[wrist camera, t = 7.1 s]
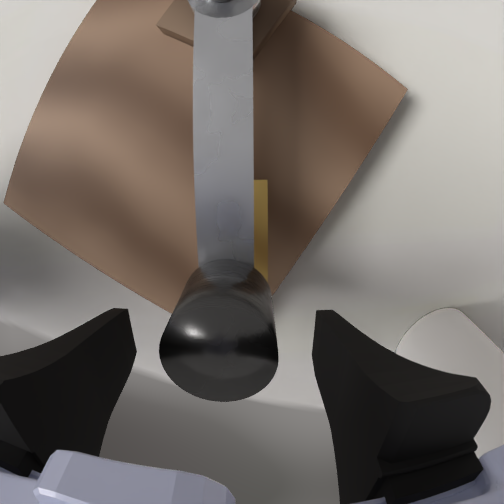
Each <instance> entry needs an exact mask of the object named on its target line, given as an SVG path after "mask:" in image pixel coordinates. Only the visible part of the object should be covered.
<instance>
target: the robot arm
mask: <svg viewBox="0 0 504 504" xmlns="http://www.w3.org/2000/svg"><path fill="white" fill-rule="evenodd" d="M136 353H137V351H136V346H135V342H134V337H133V332H132V328H131V323H130V318H129V312H128V309H120V308H113V309H111V310H108V311H106V312H104V313H102V314H101V315H99V316H97V317H95V318H93V319H92V320H90V321H88V322H86V323H84V324H83V325H81V326H79V327H77V328H75V329H74V330H72V331H70V332H68V333H66V334H64V335H62V336H60V337H58V338H56V339H54V340H51V341H49V342H47V343H44V344H42V345H39V346H37V347H34V348H30V349H27V350H24V351H21V352H17V353H14V354H10V355H5V356H0V504H236V502H235V498H234V496H233V495H232V494H231V493H230V491H229V490H228V489H227V487H225V486H224V485H222V484H221V483H218V482H216V481H214V480H212V479H210V478H208V477H206V476H203V475H198V474H193V473H189V472H184V471H179V470H171V469H163V468H156V467H149V466H143V465H137V464H131V463H125V462H120V461H115V460H110V459H106V458H101V457H99V454H100V450H101V446H102V442H103V438H104V434H105V431H106V428H107V424H108V421H109V419H110V416H111V413H112V411H113V409H114V407H115V405H116V403H117V400H118V398H119V396H120V394H121V392H122V390H123V388H124V386H125V383H126V381H127V379H128V377H129V374H130V372H131V370H132V367H133V363H134V360H135V356H136ZM312 359H313V365H314V371H315V377H316V380H317V384H318V387H319V390H320V394H321V397H322V400H323V403H324V407H325V410H326V413H327V416H328V420H329V423H330V428H331V432H332V439H333V445H334V451H335V459H336V466H337V475H338V485H339V495H340V504H504V445H502V446H499V447H497V448H495V449H493V450H490V451H488V452H487V453H485V454H483V455H482V456H481V457H480V458H479V459H478V458H477V456H476V454H475V452H474V451H476V450H477V448H478V445H477V443H476V442H475V440H474V437H475V436H476V434H477V432H478V431H479V429H480V427H481V426H482V424H483V422H484V421H485V419H486V417H487V415H488V413H489V410H490V406H491V397H490V394H489V393H488V392H487V390H486V389H485V388H484V387H483V385H482V384H481V383H480V381H479V380H478V379H477V378H476V377H470V376H464V375H458V374H452V373H448V372H444V371H440V370H436V369H433V368H430V367H427V366H424V365H421V364H419V363H416V362H413V361H411V360H408V359H406V358H404V357H402V356H400V355H398V354H396V353H394V352H392V351H390V350H388V349H386V348H385V347H383V346H381V345H380V344H378V343H377V342H375V341H373V340H372V339H370V338H369V337H368V336H366V335H365V334H363V333H362V332H361V331H359V330H358V329H357V328H355V327H354V326H353V325H351V324H350V323H349V322H348V321H346V320H345V319H344V318H343V317H341V316H340V315H339V314H337V313H336V312H335V311H333V310H316V320H315V330H314V340H313V349H312Z"/></svg>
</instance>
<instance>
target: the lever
mask: <svg viewBox="0 0 504 504" xmlns="http://www.w3.org/2000/svg"><path fill="white" fill-rule="evenodd" d="M188 2H189V4H190V6H191V8H192V10H193V12H194V14H195V16H194V46H193V155H194V188H195V212H196V232H197V250H198V265H199V268H198V269H196V270H195V271H194V272H193V273H192V275H191V276H190V277H189V279H188V281H187V283H186V285H185V287H184V289H183V291H182V293H181V296H180V298H179V300H178V302H177V304H176V306H175V309H174V311H173V313H172V315H171V317H170V319H169V322H168V324H167V326H166V328H165V330H164V333H163V335H162V337H161V341H160V345H159V354H160V360H161V363H162V366H163V368H164V370H165V371H166V373H167V375H168V376H169V377H170V378H171V380H172V381H173V382H174V383H175V384H176V385H178V386H179V387H180V388H182V389H183V390H185V391H186V392H188V393H190V394H192V395H194V396H197V397H199V398H202V399H206V400H211V401H220V402H225V401H226V402H229V401H236V400H241V399H245V398H248V397H250V396H252V395H254V394H256V393H258V392H259V391H261V390H262V389H263V388H265V387H266V386H267V385H268V384H269V382H270V381H271V380H272V378H273V377H274V375H275V373H276V370H277V367H278V347H277V338H276V329H275V320H274V311H273V302H272V294H271V290H270V287H269V284H268V282H267V281H266V279H265V278H264V276H263V275H262V274H261V273H260V272H259V271H258V270H257V269H255V268H254V150H253V17H254V16H255V15H256V14H257V12H258V11H259V9H260V5H261V0H188Z"/></svg>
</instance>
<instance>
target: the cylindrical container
mask: <svg viewBox="0 0 504 504" xmlns="http://www.w3.org/2000/svg"><path fill="white" fill-rule="evenodd" d="M395 353H396V354H398V355H400V356H402V357H404V358H406V359H408V360H411V361H413V362H416V363H419V364H421V365H424V366H427V367H430V368H433V369H436V370H440V371H444V372H448V373H452V374H458V375H464V376H470V377H476V378H477V379H478V380H479V381H480V383H481V384H482V385H483V387H484V388H485V389H486V390H487V392H488V393H489V394H490V397H491V406H490V410H489V413H488V415H487V417H486V419H485V421H484V422H483V424H482V426H481V427H480V429H479V431H478V432H477V434H476V436H475V437H474V440H475V442H476V443H477V445H478V448H477V450H476V451H474V452H475V454H476V456H477V458H478V459H479V458H480V457H481V456H482V455H483V454H485V453H487V452H488V451H490V450H493V449H495V448H497V447H499V446H502V445H504V353H503V352H502V351H501V350H500V349H499V348H498V347H497V346H496V345H495V343H494V342H493V341H492V340H491V339H490V338H489V337H488V336H487V335H485V334H484V333H483V332H482V331H481V330H480V329H479V328H478V327H477V326H476V325H475V324H474V323H473V322H472V321H471V320H470V319H469V318H468V317H467V316H466V315H465V314H464V313H463V312H461V311H460V310H457V309H454V308H443V309H439V310H435V311H433V312H431V313H429V314H427V315H425V316H424V317H422V318H421V319H419V320H418V321H417V322H416V323H415V324H414V325H413V326H411V327H410V329H409V330H408V331H407V332H406V333H405V335H404V336H403V338H402V339H401V341H400V342H399V345H398V347H397V349H396V352H395Z"/></svg>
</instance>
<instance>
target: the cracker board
mask: <svg viewBox="0 0 504 504" xmlns="http://www.w3.org/2000/svg"><path fill="white" fill-rule="evenodd" d="M296 1H297V0H261V5H260V9H259V11H258V12H257V14H256V15H255V16H254V17H253V150H254V268H255V269H257V270H258V271H259V272H260V273H261V274H262V275H263V276H264V278H265V279H266V281H267V282H268V284H269V287H270V290H271V294H272V295H273V294H274V292H275V291H276V290H277V288H278V287H279V285H280V284H281V283H282V281H283V280H284V278H285V277H286V275H287V274H288V273H289V271H290V270H291V268H292V267H293V265H294V264H295V263H296V261H297V260H298V258H299V257H300V255H301V254H302V252H303V251H304V250H305V248H306V247H307V245H308V244H309V242H310V241H311V239H312V238H313V236H314V235H315V233H316V232H317V231H318V229H319V228H320V226H321V225H322V223H323V222H324V220H325V219H326V217H327V216H328V214H329V213H330V211H331V210H332V208H333V207H334V205H335V204H336V202H337V201H338V199H339V198H340V196H341V195H342V193H343V192H344V190H345V189H346V187H347V186H348V184H349V182H350V181H351V179H352V178H353V176H354V175H355V173H356V172H357V170H358V169H359V167H360V165H361V164H362V162H363V161H364V159H365V158H366V156H367V155H368V153H369V151H370V150H371V148H372V147H373V145H374V143H375V142H376V140H377V139H378V137H379V136H380V134H381V132H382V131H383V129H384V128H385V126H386V124H387V123H388V121H389V119H390V118H391V116H392V115H393V113H394V111H395V110H396V108H397V106H398V105H399V103H400V101H401V100H402V98H403V96H404V95H405V93H406V91H407V90H408V89H407V88H405V87H404V86H403V85H402V84H401V83H399V82H398V81H397V80H396V79H394V78H393V77H392V76H391V75H389V74H388V73H387V72H385V71H384V70H383V69H382V68H380V67H379V66H378V65H376V64H375V63H374V62H372V61H371V60H369V59H368V58H367V57H365V56H364V55H362V54H361V53H360V52H358V51H357V50H355V49H354V48H352V47H351V46H349V45H348V44H346V43H345V42H343V41H342V40H340V39H339V38H337V37H336V36H334V35H333V34H331V33H329V32H328V31H326V30H324V29H323V28H321V27H320V26H318V25H316V24H314V23H313V22H311V21H309V20H308V19H306V18H304V17H302V16H300V15H299V14H297V13H295V12H293V11H291V9H292V8H293V7H294V6H295V4H296ZM194 16H195V14H194V12H193V10H192V8H191V6H190V4H189V2H188V0H97V1H96V2H95V3H94V5H93V6H92V8H91V9H90V11H89V12H88V14H87V15H86V17H85V18H84V20H83V21H82V23H81V24H80V26H79V27H78V29H77V31H76V32H75V34H74V35H73V37H72V39H71V40H70V42H69V44H68V46H67V47H66V49H65V51H64V53H63V54H62V56H61V58H60V60H59V62H58V63H57V65H56V67H55V69H54V71H53V73H52V75H51V77H50V79H49V81H48V83H47V85H46V87H45V89H44V91H43V93H42V96H41V98H40V100H39V102H38V105H37V107H36V109H35V111H34V114H33V116H32V119H31V121H30V123H29V126H28V129H27V131H26V134H25V136H24V139H23V142H22V144H21V147H20V150H19V153H18V156H17V159H16V162H15V165H14V168H13V171H12V175H11V178H10V181H9V185H8V188H7V192H6V196H5V199H4V204H5V205H7V206H8V207H9V208H10V209H12V210H13V211H14V212H16V213H17V214H18V215H20V216H21V217H22V218H24V219H25V220H26V221H28V222H29V223H31V224H32V225H33V226H35V227H36V228H37V229H39V230H40V231H42V232H43V233H44V234H46V235H47V236H49V237H50V238H52V239H53V240H54V241H56V242H57V243H59V244H60V245H62V246H63V247H65V248H66V249H68V250H69V251H71V252H72V253H74V254H75V255H77V256H78V257H80V258H81V259H83V260H84V261H86V262H87V263H89V264H90V265H92V266H93V267H95V268H96V269H98V270H100V271H101V272H103V273H104V274H106V275H107V276H109V277H111V278H112V279H114V280H116V281H117V282H119V283H120V284H122V285H124V286H125V287H127V288H129V289H130V290H132V291H134V292H135V293H137V294H139V295H140V296H142V297H144V298H145V299H147V300H149V301H151V302H152V303H154V304H156V305H157V306H159V307H161V308H163V309H164V310H166V311H168V312H170V313H173V311H174V309H175V306H176V304H177V302H178V300H179V298H180V296H181V293H182V291H183V289H184V287H185V285H186V283H187V281H188V279H189V277H190V276H191V275H192V273H193V272H194V271H195V270H196V269H198V268H199V265H198V250H197V232H196V212H195V188H194V155H193V46H194Z"/></svg>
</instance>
